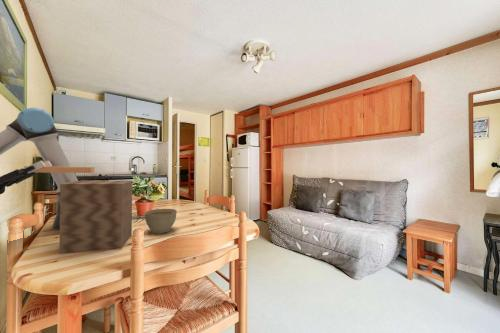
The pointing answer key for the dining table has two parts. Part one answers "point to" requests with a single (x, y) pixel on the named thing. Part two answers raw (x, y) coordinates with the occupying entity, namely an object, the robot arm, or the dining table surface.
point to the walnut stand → (95, 215)
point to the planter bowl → (160, 220)
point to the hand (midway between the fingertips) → (46, 163)
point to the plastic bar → (65, 169)
